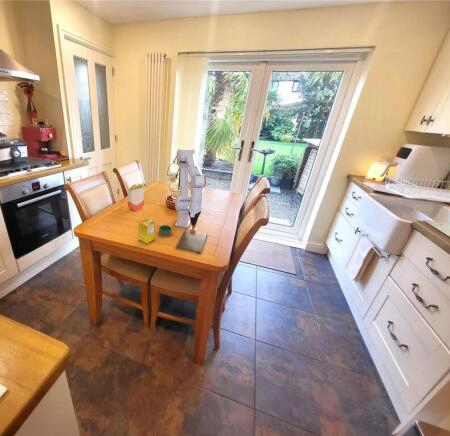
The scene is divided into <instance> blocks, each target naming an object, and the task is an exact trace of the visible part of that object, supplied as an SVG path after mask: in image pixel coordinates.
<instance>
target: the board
mask: <svg viewBox="0 0 450 436" xmlns="http://www.w3.org/2000/svg"><path fill="white" fill-rule="evenodd" d="M207 235H208V233H206V232H200V231H196V235H191V234H190V229H186V230H185V231H184V233H183V235H182V236H181V239H180V240H179V242H178V244H177V246H176V249H179V250H185V251H189V252H193V253H195V254H198V255H199V254H200V255H201V253H202V250H203V248H204V244H205V241H206V239H207Z"/></svg>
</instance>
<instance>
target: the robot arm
mask: <svg viewBox="0 0 450 436" xmlns="http://www.w3.org/2000/svg"><path fill="white" fill-rule="evenodd" d="M196 158H197V150H195V149H194V148H193V149H189V148H188V149H185V148H184V149H183V148H181V149H180V148H178V149H177V151H176V165H177V166H179V195H178V196H176V198H175V202H174V209H175V211H176V222H175V224H174V226H176V227H181V228H189V226H190V225H191V226H192V225H193V226H195V225H197V223H198V221H199V220H198V219H199V217H200V215H201V214H202V204H203V197H204V188H206V185H207V177H206V175H205V174H202V172H201V168H200V166H199V165H197V163H196ZM189 178H190V179H189ZM189 180H190V181H189ZM189 182H190V183H189ZM189 185H190V187H189ZM189 188H190V195H189Z"/></svg>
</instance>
